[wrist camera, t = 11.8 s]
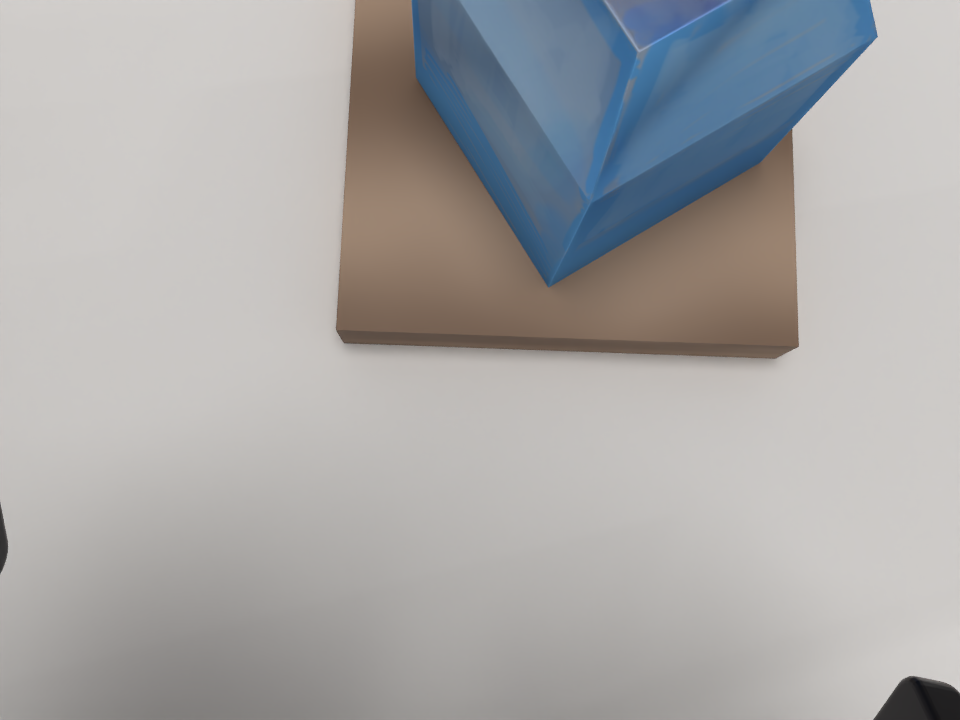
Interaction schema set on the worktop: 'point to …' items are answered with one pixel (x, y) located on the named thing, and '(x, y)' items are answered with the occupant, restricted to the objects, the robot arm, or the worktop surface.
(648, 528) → the worktop surface
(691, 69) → the perfume bottle
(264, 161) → the worktop surface
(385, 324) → the walnut block
